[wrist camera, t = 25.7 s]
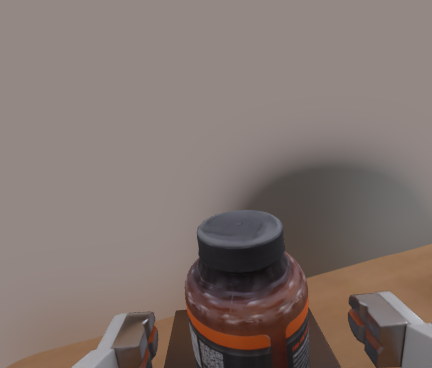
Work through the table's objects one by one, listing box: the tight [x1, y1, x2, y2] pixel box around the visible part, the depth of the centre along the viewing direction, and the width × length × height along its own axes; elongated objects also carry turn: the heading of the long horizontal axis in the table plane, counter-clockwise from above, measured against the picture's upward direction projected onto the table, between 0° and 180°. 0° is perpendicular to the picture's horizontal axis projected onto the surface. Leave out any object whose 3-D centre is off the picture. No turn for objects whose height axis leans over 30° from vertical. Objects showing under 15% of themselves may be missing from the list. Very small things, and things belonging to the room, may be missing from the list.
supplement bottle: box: [185, 210, 310, 368], centre depth 12 cm, size 6×6×11 cm
